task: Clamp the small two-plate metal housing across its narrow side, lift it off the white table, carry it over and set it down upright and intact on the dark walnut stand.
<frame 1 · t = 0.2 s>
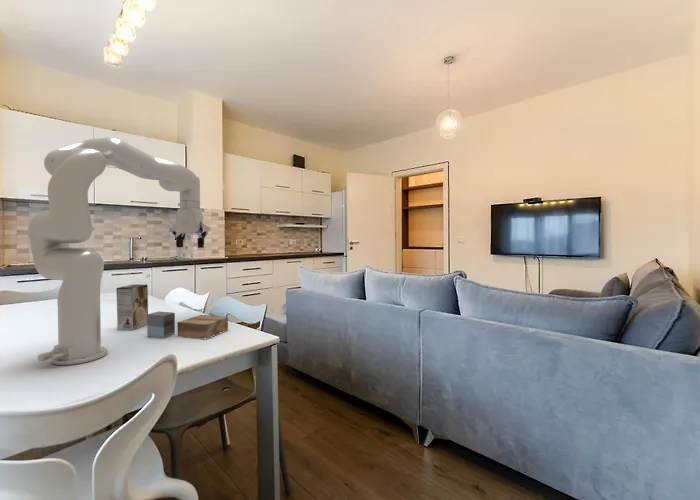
hand: (190, 247, 138), 31 cm above the table, tool pointing down, fingers open, 9 cm apart
coffee box: (133, 327, 129), on the table
housing: (161, 335, 118), on the table
walnut stand: (203, 333, 122), on the table
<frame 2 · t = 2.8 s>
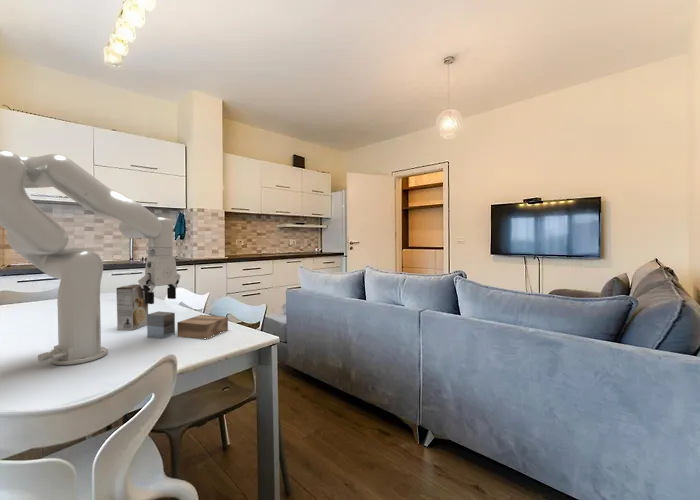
hand: (161, 301, 118), 12 cm above the table, tool pointing down, fingers open, 9 cm apart
nothing on the table moved.
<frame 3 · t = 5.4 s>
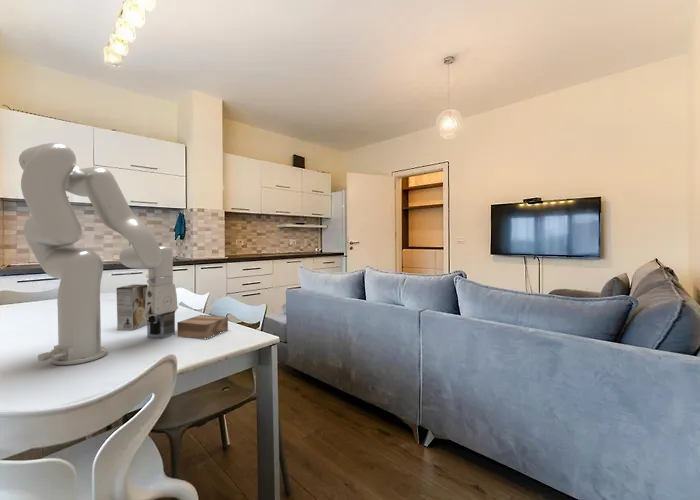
hand: (161, 331, 118), 1 cm above the table, tool pointing down, fingers closed on housing, 5 cm apart
housing: (161, 335, 118), on the table, touching gripper
everything else where it was.
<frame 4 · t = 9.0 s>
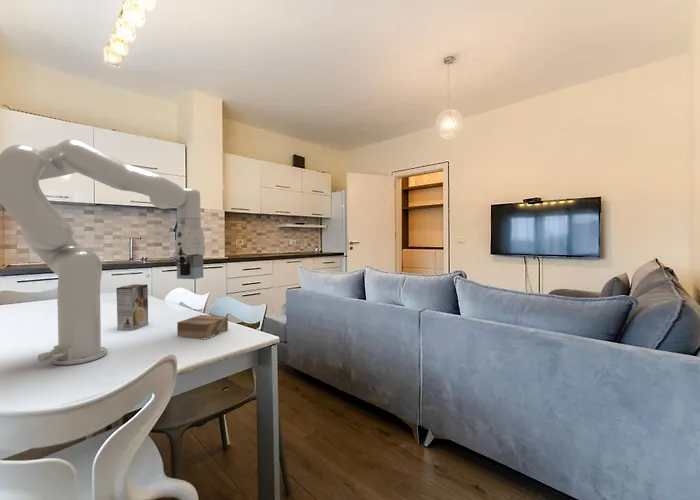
hand: (190, 273, 120), 22 cm above the table, tool pointing down, fingers closed on housing, 5 cm apart
housing: (190, 277, 120), point 20 cm above the table, touching gripper
everything else where it was.
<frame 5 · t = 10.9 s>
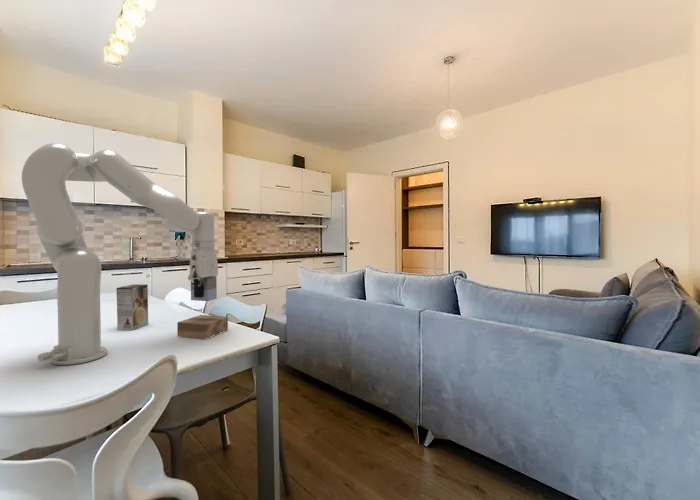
hand: (203, 295, 122), 14 cm above the table, tool pointing down, fingers closed on housing, 5 cm apart
housing: (203, 299, 122), point 12 cm above the table, touching gripper
everything else where it was.
when the fingers open (8 cm above the table, at t = 12.8 s): housing drops 1 cm, resting on walnut stand.
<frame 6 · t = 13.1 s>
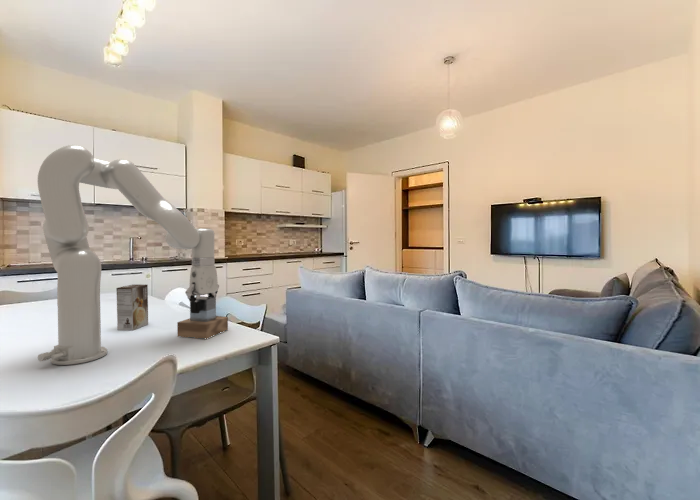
hand: (203, 310, 122), 8 cm above the table, tool pointing down, fingers open, 8 cm apart
housing: (203, 319, 122), point 5 cm above the table, touching walnut stand
everything else where it was.
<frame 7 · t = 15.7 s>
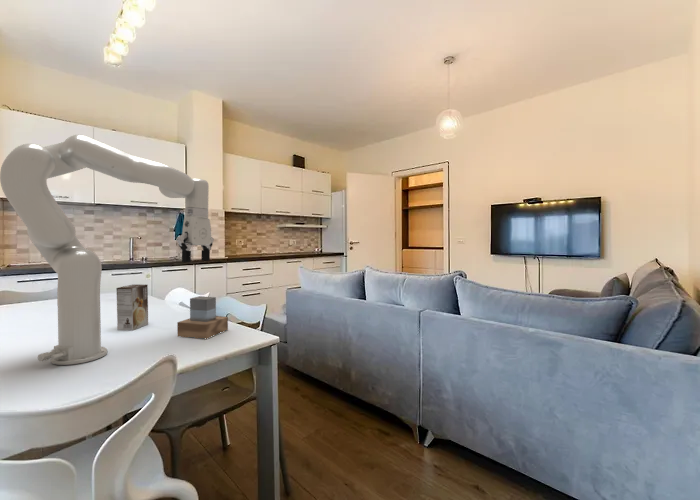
hand: (196, 261, 120), 26 cm above the table, tool pointing down, fingers open, 9 cm apart
nothing on the table moved.
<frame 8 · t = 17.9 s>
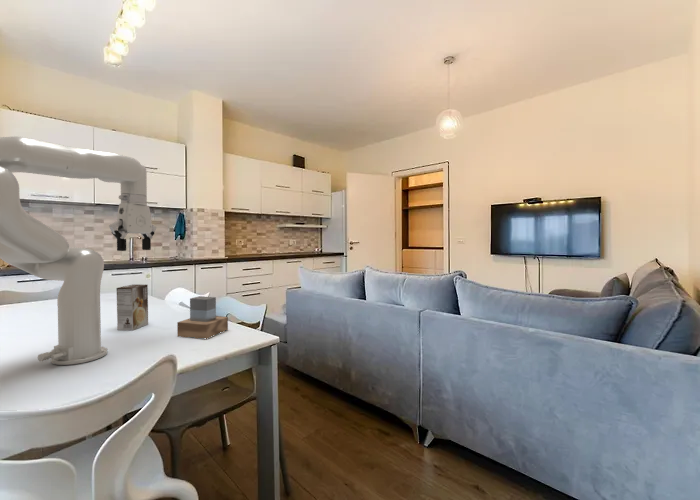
hand: (134, 250, 115), 30 cm above the table, tool pointing down, fingers open, 9 cm apart
nothing on the table moved.
at the end: housing inside the target area on the walnut stand (0.1 cm from its centre), point 5.0 cm above the walnut stand's base; housing tilted 0°; the gripper is holding nothing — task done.
